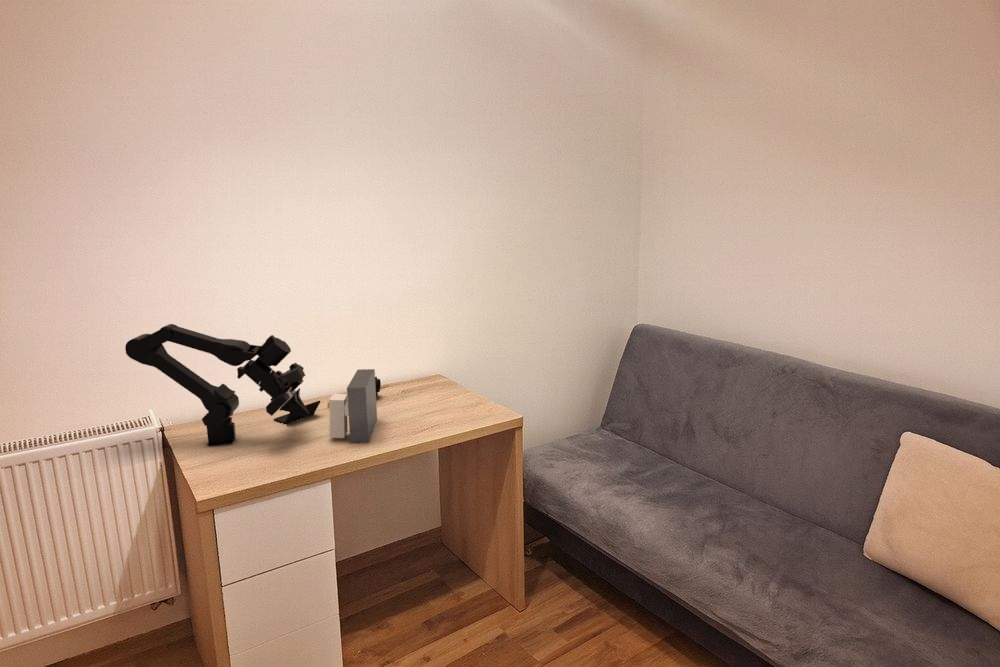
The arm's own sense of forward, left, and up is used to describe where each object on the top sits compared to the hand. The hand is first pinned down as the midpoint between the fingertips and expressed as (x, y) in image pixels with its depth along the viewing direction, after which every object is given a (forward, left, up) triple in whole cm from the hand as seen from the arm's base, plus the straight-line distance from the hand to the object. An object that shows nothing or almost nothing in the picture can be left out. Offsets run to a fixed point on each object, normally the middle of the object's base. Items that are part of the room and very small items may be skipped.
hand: (308, 415), depth 180 cm
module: (+7, -2, -6) cm, 10 cm away
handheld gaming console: (-4, +18, -8) cm, 20 cm away
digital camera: (+18, +29, -7) cm, 35 cm away
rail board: (+15, +2, -7) cm, 16 cm away
